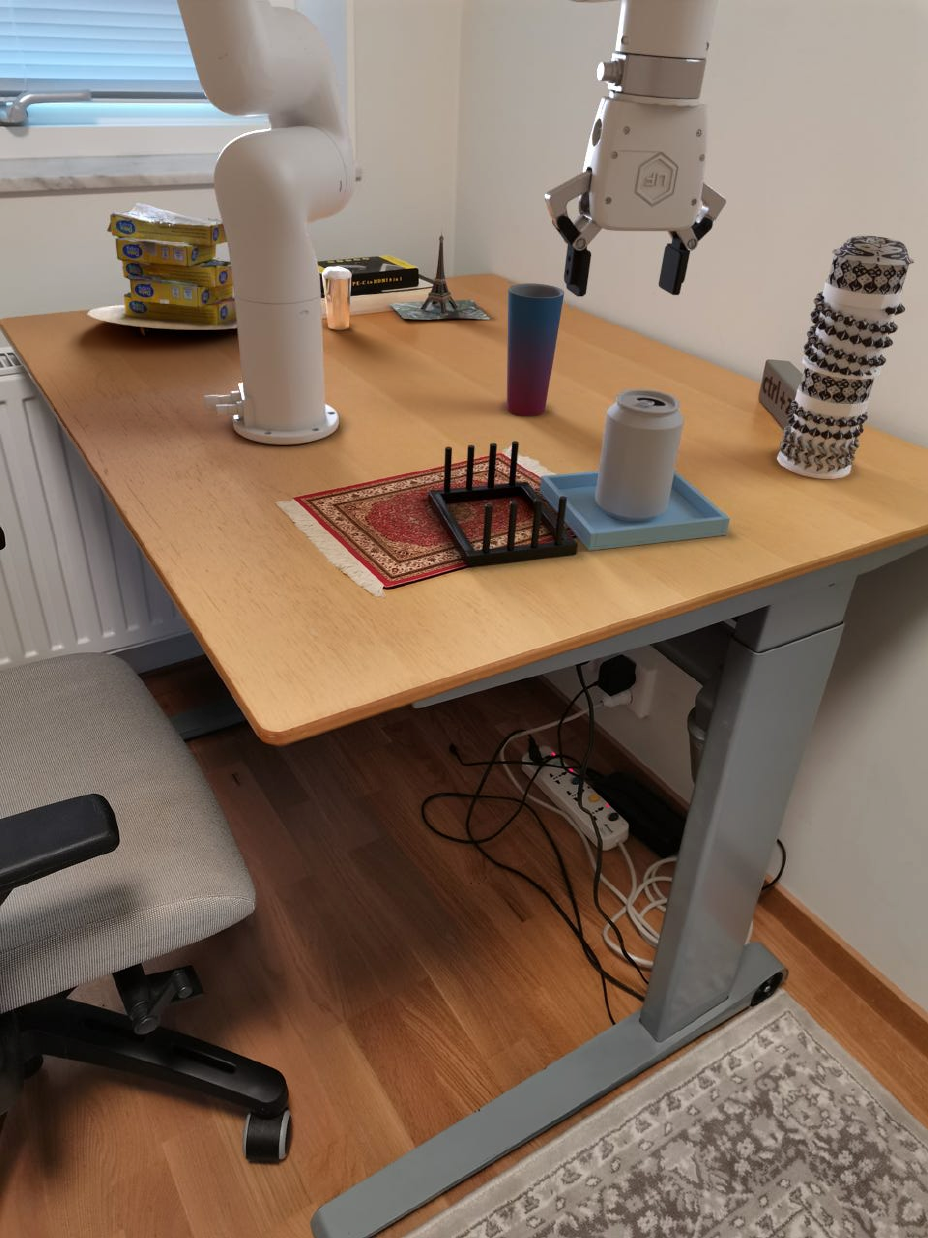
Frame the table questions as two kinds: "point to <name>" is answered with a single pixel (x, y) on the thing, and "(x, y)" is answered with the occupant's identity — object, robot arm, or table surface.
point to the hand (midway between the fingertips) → (622, 291)
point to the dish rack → (542, 513)
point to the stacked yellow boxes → (171, 272)
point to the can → (639, 455)
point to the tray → (601, 531)
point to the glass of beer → (337, 296)
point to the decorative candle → (844, 356)
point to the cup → (531, 345)
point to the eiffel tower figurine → (439, 300)
